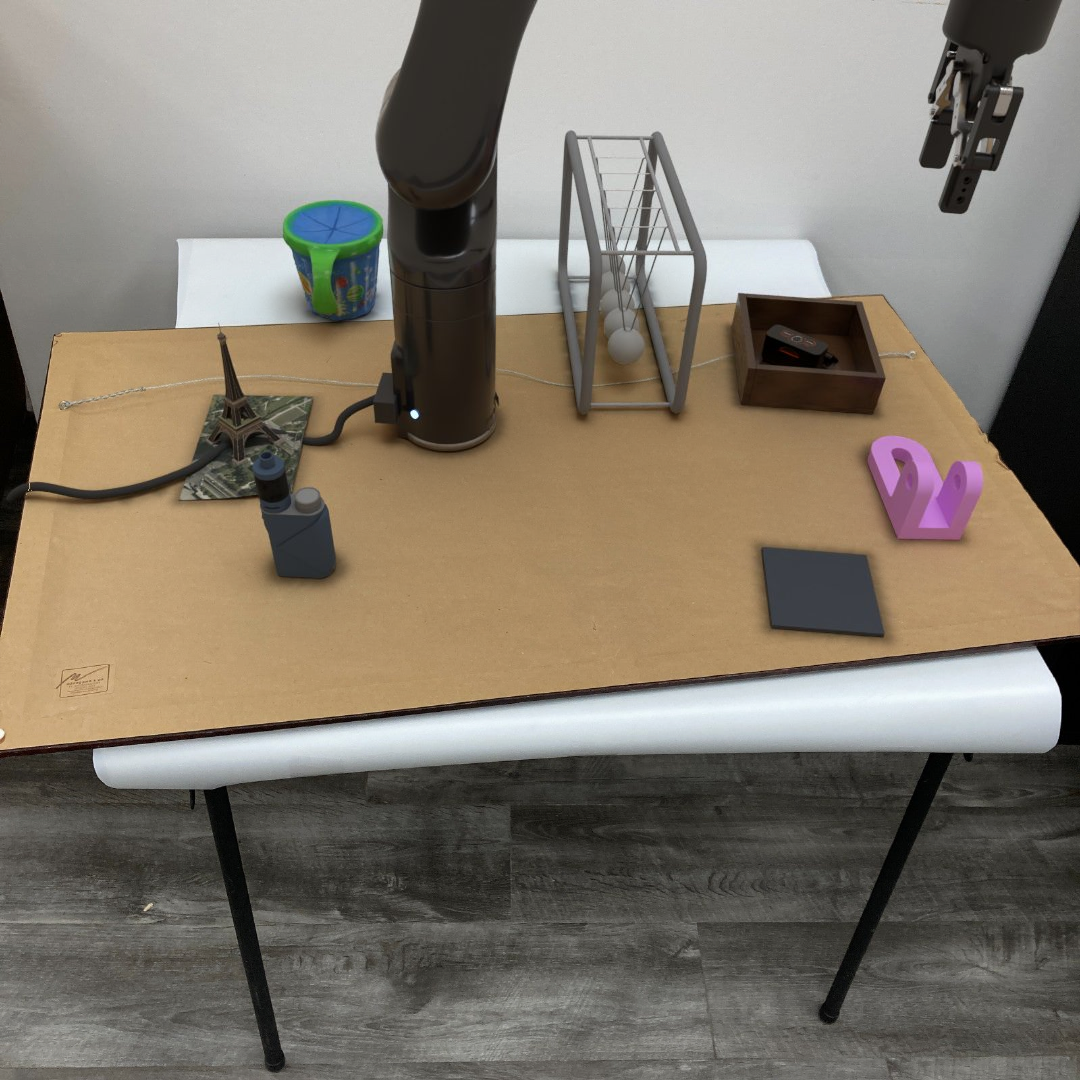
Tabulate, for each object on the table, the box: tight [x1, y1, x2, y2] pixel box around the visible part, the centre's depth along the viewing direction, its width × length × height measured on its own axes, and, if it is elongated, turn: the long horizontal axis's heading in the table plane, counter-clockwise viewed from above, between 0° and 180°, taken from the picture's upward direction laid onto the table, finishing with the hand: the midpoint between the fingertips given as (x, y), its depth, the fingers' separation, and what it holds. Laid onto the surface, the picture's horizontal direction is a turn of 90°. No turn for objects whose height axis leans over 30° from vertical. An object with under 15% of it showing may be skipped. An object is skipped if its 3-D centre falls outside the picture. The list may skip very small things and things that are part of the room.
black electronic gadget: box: [761, 325, 839, 369], centre depth 104 cm, size 5×7×3 cm, turn 52°
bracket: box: [867, 435, 984, 541], centre depth 89 cm, size 13×6×7 cm, turn 1°
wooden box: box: [730, 292, 887, 415], centre depth 104 cm, size 14×15×4 cm
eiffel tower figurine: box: [178, 322, 314, 501], centre depth 88 cm, size 15×10×13 cm
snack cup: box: [282, 199, 384, 322], centre depth 107 cm, size 16×10×10 cm
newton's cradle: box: [557, 129, 708, 415], centre depth 102 cm, size 30×10×18 cm, turn 3°
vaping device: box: [252, 451, 337, 579], centre depth 77 cm, size 3×5×12 cm, turn 88°
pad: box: [761, 546, 886, 638], centre depth 82 cm, size 9×9×1 cm
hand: (940, 188), depth 82 cm, fingers open, 8 cm apart
